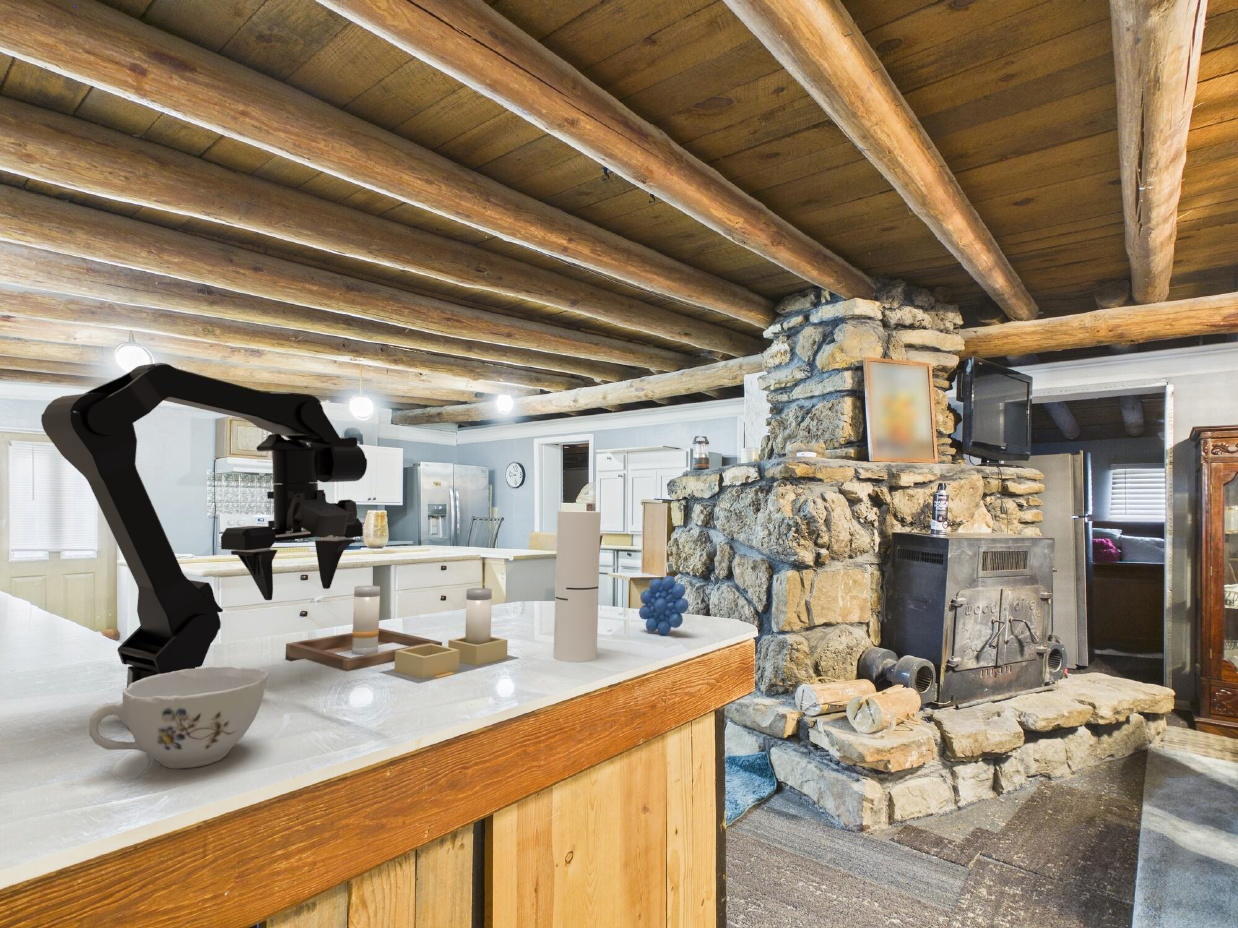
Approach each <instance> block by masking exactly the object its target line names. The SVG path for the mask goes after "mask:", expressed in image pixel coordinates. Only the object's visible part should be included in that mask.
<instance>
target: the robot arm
mask: <svg viewBox="0 0 1238 928" xmlns="http://www.w3.org/2000/svg"><path fill="white" fill-rule="evenodd" d="M163 401H165V402H169V403H173V404H177V405H182V406H185V407H192V408H196V409H200V410H205V411H209V412H213V413H218V414H223V415H226V416H231V417H235V418H239V419H242V420H246V421H248V422H249V423H251V424H252V425H254V426H256V427H257V428H259V429H261V430H264V431H267V432H269V433H270V434H268V435H267V437H266V439H265V440H263V441H262V442H261V443H260V444H258V445H257V446H256V451H257V452H272V455H271V457H272V458H271V459H272V460H271V461H272V487H273V488H272V490H273V491H267V492H266V493H267V498H266V499H267V500H273V520H268V521H267V525H245V526H237V527H236V526H234V527H227V528H225V530H224V531H223V533H222V534H221V536H220V545H221V546H220V550H229V551H230V554H231V556H237V557H239V559H240V560H241V562H242V563H243V564H244V566H245V568H246V569H247V571H248V573H249V574H250V575H251V577H252V578H253V579H252V580H253V581H254V582H255V585H256V586H257V588H258V590H259V592H260V594H261V595H262V597H263V599H264V600H265V601H271V600H273V593H274V581H273V580H274V579H273V578H274V577H273V575H274V574H273V560H274V559H275V556H276V555H277V553H278V549H271V547H272V546H274V545H275V543H276V542H277V543H278V542H283V541H293V540H301V539H311V538H321V539H317V540H314V545H315V551H316V557H317V564H318V570H319V577H320V582H321V586H322V589H325V590H329V589H331V586H332V584H333V583H332V582H333V580H334V578H335V577H334V576H335V575H336V571H337V568H338V566H339V562H340V559H341V558H342V555H343V553H344V551H345V550H346V549H347V548H348V547H349V546H350V545H353V544H355V543H356V542H357V539H356V538H358V537H363V536H364V526H363V523H362V521H361V520H360V519H359V518H358V517H357V516H358V509H357V508H358V507H357V502H356V501H354V500H352V499H350V498H349V499H340V500H338V502H327V499H326V498H327V497H326V492H325V490H324V489H319V486H318V485H319V483H318V482H321V483H342V482H343V483H344V482H358V481H360V480H361V479H362V478H363V477H364V476H365V474H366V471H367V467H368V458H366V455H365V451H363V449H362V448H361V447H360V446H359V445H358V438H357V437H352V436H351V437H346V436H345V437H340V435H339V433H338V432H337V430H336V429H335V427H334V426H333V424H332V423H331V421H330V420H329V418H328V416H327V415H326V413H325V411H324V408H323V405H322V403H321V400H320V399H319V398H318V397H316V396H314V395H313V394H309V393H298V392H287V391H286V392H282V391H281V392H280V391H265V390H264V391H262V390H258V389H254V388H251V387H247V386H243V385H240V384H237V383H236V384H235V383H233V382H228V381H225V380H222V379H217V378H214V377H210V376H206V375H201V374H199V373H195V372H191V371H188V370H184V369H180V368H177V367H174V366H172V365H171V364H169V363H164V362H157V363H156V362H155V363H150V364H149V363H148V364H142V365H139V366H136V367H134V368H133V369H132V370H130V371H129V372H127V373H125V374H124V375H121V376H119V377H117V378H115V379H112V380H110V381H107V382H105V383H104V384H102V385H99V386H97V387H94V388H92V389H90V390H88V391H86V392H84V393H80V394H70V395H62V396H60V397H58V398H55V399H53V400H52V401H51V402H50V403H49V404H48V405H47V406H46V408H45V410H44V412H42V414H41V419H40V421H41V426H42V429H43V431H44V433H45V435H46V436H47V437H48V438H49V439H50V441H51V443H52V444H53V445H54V446H55V448H56V449H57V450H58V452H59V453H60V455H61V456H62V457H63V458H64V459H65V460H66V461H68V463H69V464H70V465H72V466H73V467H74V468H75V469H76V470H77V471H78V472H79V473H80V474H81V475H82V476H84V478H85V479H86V481H87V482H88V484H89V487H90V489H91V491H92V493H93V494H94V497H95V499H96V502H97V503H98V506H99V507H100V509H101V512H102V514H103V516H104V518H105V520H106V522H107V524H108V526H109V528H110V530H111V533H112V535H113V537H114V540H115V542H116V543H117V546H118V548H119V550H120V551H121V555H122V556H123V558H124V560H125V562H126V565H127V567H128V569H129V571H130V574H131V575H132V577H133V580H134V581H135V584H136V586H137V589H138V590H137V591H138V594H137V606H136V612H137V616H138V621H139V624H140V626H139V627H138V628H137V629H136V630H134V631H133V633H131V634H130V636H128V637H127V638H126V640H124V642H123V643H121V644H120V645H119V646H118V647H117V654H118V656H119V659H120V661H121V664H123V665H124V666H125V665H128V667H127V678H126V679H127V680H126V689H127V688H128V687H129V685H130V684H131V683H134V682H136V681H138V680H141V679H143V678H146V677H150V676H154V675H157V674H164V673H170V672H173V671H179V670H184V669H195V668H202V666H203V664H204V662H205V659H206V656H207V654H208V652H209V649H210V647H211V645H212V643H213V642H214V641H215V639H216V637H217V635H218V633H219V630H221V627H222V626H221V625H222V624H221V623H222V622H221V619H220V614H219V613H223V611H224V609H223V608H222V607H221V606H219V605H218V603H217V601H216V599H215V595H214V590H213V587H212V586H211V583H210V582H205V581H199V580H192V579H189V578H187V577H186V575H185V574H184V572H183V570H182V567H181V566H180V563H179V561H178V558H177V557H176V554H175V552H174V549H173V548H172V546H171V545H172V544H171V543H170V541H169V538H168V537H167V536H168V535H167V533H166V532H165V529H164V527H163V525H162V522H161V520H160V518H159V516H158V514H157V512H156V509H155V507H154V505H153V503H152V501H151V498H150V496H149V493H148V491H147V488H146V487H145V485H144V482H143V480H142V478H141V476H140V474H139V472H138V471H139V470H138V469H137V465H136V459H137V447H138V446H137V445H138V439H137V434H136V431H135V425H134V423H135V422H137V421H139V420H140V419H142V418H144V417H145V416H147V415H149V414H150V413H152V411H153V410H154V409H156V408H157V406H159V405H160V404H161V403H162V402H163ZM271 433H272V434H271ZM285 438H287V439H285ZM302 529H303V530H302ZM353 538H354V539H353Z"/></svg>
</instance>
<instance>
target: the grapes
mask: <svg viewBox="0 0 1238 928" xmlns="http://www.w3.org/2000/svg"><path fill="white" fill-rule="evenodd" d="M648 588H649V589H645V590H643V591H642V593H640V602H641V603H642V604H643V605H642V606H641V607H640V608H639V610H638V615H639V617H640V619H642V620H646V622H645V629H646V630H647V631H649V632H655V631H657V632H658V634H659V635H663V636H665V635H668V634H669V633H670V631H671V630H672V628H674V629H677V628H680V626H681V625H682V624H683V621H684V619H683V618H684V617H683V615H682V614H684V613H686V611H688V609H689V601H688V600H687V598H683V597H684V596H685V595H686V585H684V584H683V583H679V582H678V583H676V580H675V578H674V576H671V575H666V576H665V577H663V579H662V580H661V578H652V580H650V582H649V585H648Z"/></svg>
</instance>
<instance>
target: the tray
mask: <svg viewBox="0 0 1238 928" xmlns="http://www.w3.org/2000/svg"><path fill="white" fill-rule="evenodd" d="M352 639H353V637H352V632H350V633H342V634H336V635H329V636H324V637H318V638H317V637H316V638H311V639H307V640H305V639H304V640H299V641H294V642H293V641H292V642H288V643H286V644H285V655H284V656H285V660H287V661H291V662H295V661H300V660H308V661H311V662H313V663H318V664H320V665H325V666H328V667H331V668H334V669H339V670H341V671H345V672H351V671H357V670H361V669H364V668H370V667H374V666H379V665H384V664H390V663H395V651H396V650H401V649H406V648H411V647H416V646H421V645H427V644H435V645H440V646H443V641H439V640H434V639H429V638H426V637H420V636H417V635H416V636H415V635H412V634H409V633H408V634H406V633H403V632H397V631H393V630H388V629H383V628H380V627H379V636H378V646H381V645H387V644H393V643H394V644H398V645H402V646H405V647H400V648H396V649H391V650H385V651H378V652H377V653H374V654H369V655H357V656H354V657H347V656H345V655H342V654H339V653H343V652H344V653H345V652H349V651H352Z"/></svg>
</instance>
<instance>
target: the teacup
mask: <svg viewBox="0 0 1238 928" xmlns="http://www.w3.org/2000/svg"><path fill="white" fill-rule="evenodd" d="M269 676H270V674H269V672H268V671H264V670H260V669H256V668H249V667H241V668H236V667H233V666H232V667H231V666H207V667H196V668H195V669H184V670H179V671H173V672H170V673H164V674H157V675H154V676H150V677H146V678H143V679H141V680H138V681H136V682H134V683H131V684H130V685H129V687H128V688H127V687H126V688H124V689H122V703H121V704H120V703H115V702H109V703H105V704H102V705H100V706H98V707H97V708H96V709H95V710H94V711H93V713H92V714H91V716H90V718H89V726H88V732H89V733H88V734H89V737H90V738H91V739H92V741H93V742H94V743H95V744H96V745H98V746H99V747H101V748H102V749H105V750H109V751H110V750H113V751H116V750H117V751H118V750H119V751H121V750H125V751H126V750H136V751H140V752H143V753H145V754H147V755H149V756H150V757H151V758H153V759H154V760H156V761H158V762H159V763H160V764H161V765H162V766H164V768H165V767H166V768H169V769H189V768H198V767H203V766H207V765H211V764H215V763H216V762H219V761H221V760H223V759H224V757H226V756H227V755H228V753H229V752H230V751H231V749H232V748H233V747H235V746H236V745H237V743H238V742H239V741H241V739H242V738H243V737H244V735H245V734H246V733H247V731H248V730H249V728H250V727H251V726H252V724H253V722H254V720H255V718H256V716H257V714H258V712H259V710H260V708H261V705H262V701H263V699H264V694H265V690H266V685H267V682H268V679H269ZM112 715H114V716H117V717H118V718H119V719H120V720H121V722H122V723H123V724H124V725H125V726H126V727H127V728H128V730H129V731H130V733H131V735H132V737H133V738H134V739H133V740H134V741H129V742H126V741H119V740H114V739H109V738H107V737H105V736H103V735H102V734H100V732H99V726H100V724H101V722H102V721H103V720H104V718H106V717H108V716H112Z"/></svg>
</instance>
